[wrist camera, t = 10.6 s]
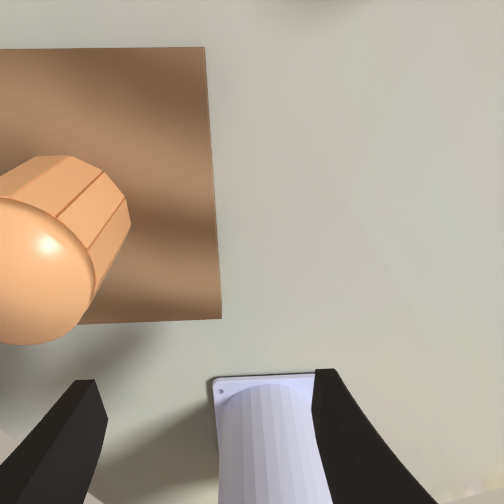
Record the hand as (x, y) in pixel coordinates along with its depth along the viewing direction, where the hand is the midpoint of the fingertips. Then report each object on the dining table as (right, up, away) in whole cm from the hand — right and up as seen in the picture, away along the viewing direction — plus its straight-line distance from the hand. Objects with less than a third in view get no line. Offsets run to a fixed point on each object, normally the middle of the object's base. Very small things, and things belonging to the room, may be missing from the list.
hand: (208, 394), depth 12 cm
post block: (-7, +7, +6) cm, 12 cm away
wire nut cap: (-7, +7, +5) cm, 11 cm away
